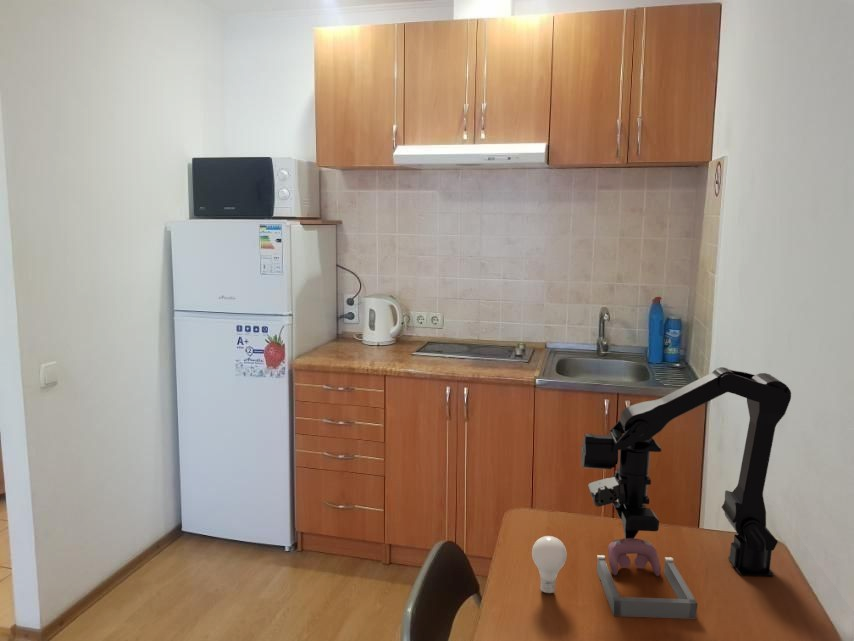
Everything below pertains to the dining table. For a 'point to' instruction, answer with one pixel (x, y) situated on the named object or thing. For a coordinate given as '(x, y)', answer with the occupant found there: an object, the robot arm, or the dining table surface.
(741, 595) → the dining table surface
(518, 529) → the dining table surface
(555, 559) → the lightbulb
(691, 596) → the pocket
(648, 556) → the video game controller
